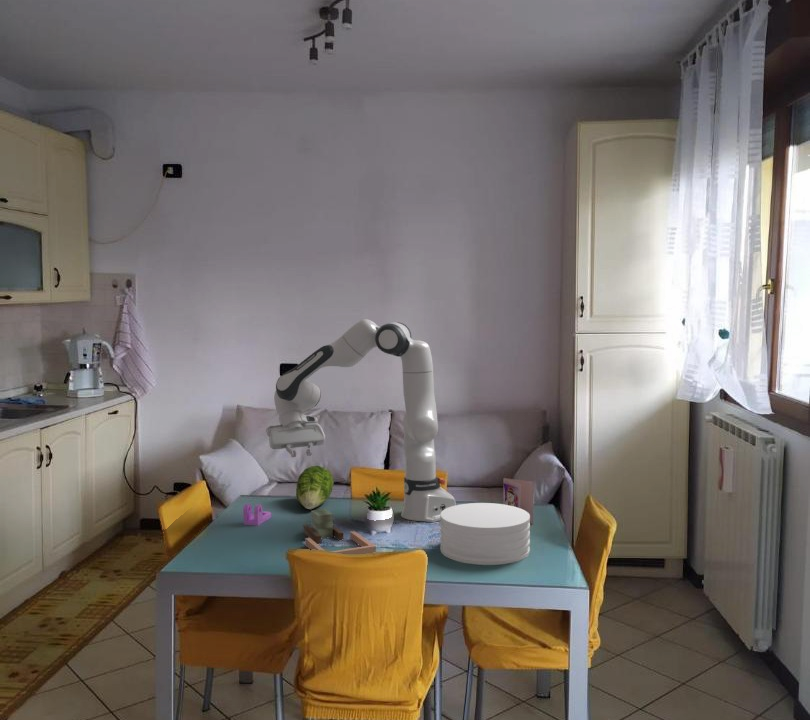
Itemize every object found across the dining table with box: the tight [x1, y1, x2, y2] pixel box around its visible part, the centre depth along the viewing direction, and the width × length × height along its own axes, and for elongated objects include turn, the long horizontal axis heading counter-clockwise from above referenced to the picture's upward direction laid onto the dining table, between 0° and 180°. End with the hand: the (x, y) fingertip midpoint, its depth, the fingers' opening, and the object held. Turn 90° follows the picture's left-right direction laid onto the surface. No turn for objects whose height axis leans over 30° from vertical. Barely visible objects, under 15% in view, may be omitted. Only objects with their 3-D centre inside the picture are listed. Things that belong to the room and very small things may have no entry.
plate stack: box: [439, 502, 531, 566], centre depth 249 cm, size 28×28×12 cm
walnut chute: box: [302, 524, 345, 545], centre depth 264 cm, size 9×14×2 cm, turn 26°
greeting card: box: [502, 477, 534, 525], centre depth 278 cm, size 11×7×15 cm, turn 23°
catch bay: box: [304, 530, 377, 554], centre depth 250 cm, size 17×18×2 cm
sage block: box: [310, 508, 334, 539], centre depth 264 cm, size 5×7×8 cm
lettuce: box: [295, 465, 335, 510], centre depth 302 cm, size 14×23×13 cm, turn 177°
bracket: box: [242, 503, 272, 526], centre depth 284 cm, size 13×6×7 cm, turn 165°
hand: (301, 455), depth 281 cm, fingers open, 4 cm apart
